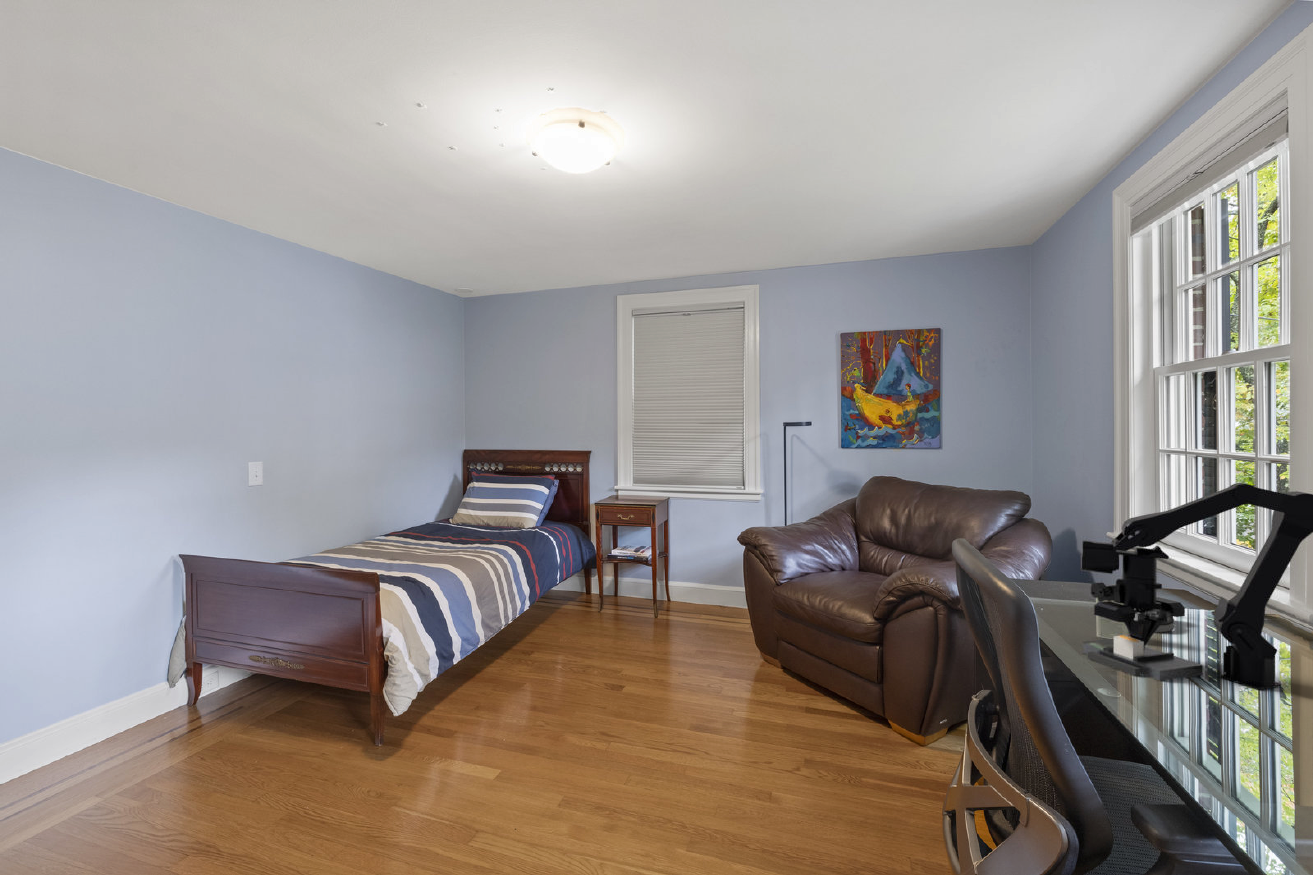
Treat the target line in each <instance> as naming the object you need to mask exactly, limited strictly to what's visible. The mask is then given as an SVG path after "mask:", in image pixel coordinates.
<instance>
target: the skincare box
mask: <svg viewBox="0 0 1313 875" xmlns="http://www.w3.org/2000/svg"><path fill="white" fill-rule="evenodd" d="M1102 602H1108V601H1107V600H1104V601H1102ZM1110 602H1114V601H1110ZM1096 603H1098V599H1097V598H1095V604H1096ZM1114 603H1116V602H1114ZM1118 604H1122V603H1118ZM1122 605H1123V604H1122ZM1095 616H1096V637H1098V638H1102V639H1114V636H1119V635H1125V636H1128V637H1131V636H1130V634H1129V631H1128V629H1127V627H1126V625H1125V623H1124V622H1117V621H1114V620H1110V619H1107V618H1104V617H1100V616H1097V615H1095Z"/></svg>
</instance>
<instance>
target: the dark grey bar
mask: <svg viewBox="0 0 1313 875" xmlns="http://www.w3.org/2000/svg"><path fill="white" fill-rule="evenodd" d="M1086 655H1087V657H1086V658H1087V659H1088V658H1089V659H1088V660H1091V659H1093V660H1094V662H1096V661H1097V662H1096V663H1099V664H1102V665H1104V664H1105V665H1104V666H1107V665H1108V666H1107V667H1109V666H1110V667H1109V668H1113V669H1115V668H1117V669H1119V670H1118V671H1120V670H1121V671H1120V672H1123V673H1126V674H1128V673H1129V675H1132V676H1133V677H1139V676H1141V674H1140V668H1137V667H1134V666H1132V665H1129V664H1126V663H1123V662H1121V661H1118V660H1115V659H1112V658H1109V657H1107V656H1104V655H1101V654H1098V653H1095V652H1093V651H1092V652H1088V654H1086ZM1093 660H1092V661H1093ZM1117 669H1116V670H1117Z"/></svg>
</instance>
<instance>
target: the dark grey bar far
mask: <svg viewBox="0 0 1313 875" xmlns="http://www.w3.org/2000/svg"><path fill="white" fill-rule="evenodd" d="M1111 640H1114V639H1107V638H1105V639H1099V640H1098V639H1097V640H1090V641H1083V643H1082V644H1085V643H1094V642H1103V641H1111Z"/></svg>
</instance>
